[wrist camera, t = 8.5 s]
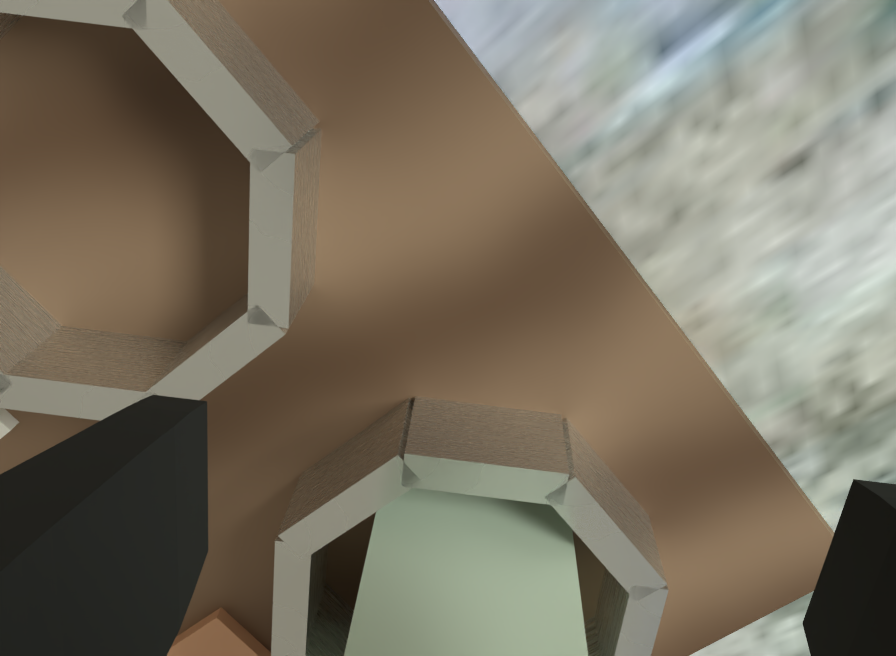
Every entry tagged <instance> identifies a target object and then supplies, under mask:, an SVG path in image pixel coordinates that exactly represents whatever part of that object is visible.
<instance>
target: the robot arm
mask: <svg viewBox="0 0 896 656" xmlns="http://www.w3.org/2000/svg"><path fill="white" fill-rule="evenodd" d="M207 553H208V436H207V401H201V400H193V399H185V398H176V397H168V396H160V395H151V396H149V397H147V398H144V399H142V400H140V401H138V402H136V403H134V404H132V405H130V406H128V407H126V408H124V409H122V410H120V411H118V412H116V413H114V414H112V415H110V416H108V417H107V418H105V419H103V420H101V421H99V422H97V423H95V424H94V425H92V426H90V427H88V428H86V429H84V430H83V431H81V432H79V433H77V434H75V435H73V436H71V437H70V438H68V439H66V440H64V441H62V442H60V443H58V444H56V445H55V446H53V447H51V448H49V449H47V450H45V451H43V452H41V453H40V454H38V455H36V456H34V457H32V458H30V459H28V460H26V461H24V462H23V463H21V464H19V465H17V466H15V467H13V468H11V469H9V470H8V471H6V472H4V473H2V474H0V656H167V654H168V652H169V650H170V648H171V646H172V644H173V642H174V640H175V638H176V636H177V634H178V632H179V630H180V628H181V625H182V622H183V620H184V617H185V614H186V612H187V609H188V606H189V604H190V601H191V598H192V596H193V593H194V590H195V587H196V584H197V582H198V579H199V576H200V573H201V570H202V567H203V564H204V562H205V559H206V556H207ZM803 626H804V630H805V634H806V638H807V642H808V646H809V650H810V654H811V656H896V484H888V483H879V482H871V481H863V480H855V479H853V482H852V485H851V488H850V491H849V494H848V496H847V499H846V502H845V505H844V508H843V511H842V513H841V516H840V519H839V522H838V525H837V527H836V530H835V533H834V536H833V539H832V542H831V544H830V547H829V550H828V553H827V556H826V559H825V561H824V564H823V567H822V570H821V573H820V575H819V578H818V581H817V584H816V587H815V590H814V592H813V595H812V598H811V601H810V604H809V606H808V609H807V612H806V615H805V618H804V621H803Z"/></svg>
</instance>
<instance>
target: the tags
mask: <svg viewBox="0 0 896 656" xmlns="http://www.w3.org/2000/svg"><path fill="white" fill-rule="evenodd" d="M18 423H19V421H18V420H16V419H15V418H14V417H13V416H12V415H11V414H10V413H9V412H8V411H7V410H6V409H3V408H0V439H1V438H2V437H3V436H5V435H6V434H7V433H8V432H10V431H11V430H12V429H13V428H14V427H15V426H16V425H17V424H18ZM167 656H271V652H270V651H269V650H267V649H266V648H265V647H264V646H263V645H262V644H261V643H260V642H259V641H258V640H257V639H255V638H254V637H253V636H252V635H251V634H250V633H249V632H248V631H247V630H246V629H245V628H243V627H242V626H241V625H240V624H239V623H238V622H237V621H236V620H235V619H234V618H233V617H231V616H230V615H229V614H228V613H227V612H226V611H225V610H224V609H223V608H222V607H221V608H219V609H218V610H216V611H215V612H213V613H211V614H210V615H208V616H207V617H205V618H204V619H202V620H201V621H199V622H198V623H196V624H195V625H193V626H192V627H190V628H189V629H187V630H186V631H184V632H183V633H181V634H180V635H178V636H177V637H176V638H175V640H174V642H173V644H172V646H171V648H170V650H169V652H168V654H167Z"/></svg>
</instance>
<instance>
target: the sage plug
mask: <svg viewBox="0 0 896 656" xmlns="http://www.w3.org/2000/svg"><path fill="white" fill-rule="evenodd" d="M344 656H588V650H587V642H586V634H585V626H584V618H583V610H582V603H581V595H580V587H579V579H578V571H577V563H576V555H575V548H574V540H573V532H572V528H571V527H570V526H569V525H568V524H567V523H566V522H565V520H564V519H563V518H562V517H561V516H560V515H559V514H558V512H557V511H556V510H555V509H554V508H553V507H552V506H551V505H547V504H539V503H531V502H523V501H515V500H507V499H499V498H491V497H483V496H475V495H467V494H459V493H451V492H443V491H435V490H427V489H419V488H412V489H410V490H409V491H407V492H406V493H404V494H403V495H401V496H400V497H398V498H396V499H395V500H393V501H392V502H390V503H389V504H387V505H386V506H384V507H383V508H381V509H380V510H378V511H377V512H376V515H375V519H374V524H373V528H372V533H371V537H370V541H369V546H368V550H367V555H366V559H365V564H364V568H363V573H362V577H361V582H360V586H359V591H358V595H357V600H356V604H355V608H354V613H353V617H352V622H351V626H350V631H349V635H348V640H347V644H346V649H345V653H344Z"/></svg>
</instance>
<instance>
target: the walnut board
mask: <svg viewBox="0 0 896 656" xmlns="http://www.w3.org/2000/svg"><path fill="white" fill-rule="evenodd" d="M218 1H219V2H220V3H221V4H222V5H223V7H224V8H225V9H226V10H227V11H228V13H229V14H230V15H231V16H232V17H233V19H234V20H235V21H236V22H237V23H238V25H239V26H240V27H241V28H242V29H243V31H244V32H245V33H246V34H247V35H248V37H249V38H250V39H251V40H252V41H253V42H254V44H255V45H256V46H257V47H258V48H259V50H260V51H261V52H262V53H263V54H264V56H265V57H266V58H267V59H268V60H269V62H270V63H271V64H272V65H273V66H274V68H275V69H276V70H277V71H278V72H279V74H280V75H281V76H282V77H283V78H284V80H285V81H286V82H287V83H288V84H289V86H290V87H291V88H292V89H293V90H294V92H295V93H296V94H297V95H298V96H299V98H300V99H301V100H302V101H303V102H304V104H305V105H306V106H307V107H308V108H309V110H310V111H311V112H312V113H313V114H314V116H315V117H316V118H317V119H318V120H319V122H318V123H317V124H316V125H315V126H314V127H313V128H321V129H322V138H321V158H320V178H319V198H318V218H317V238H316V257H315V277H314V285H313V286H312V288H311V290H310V292H309V294H308V296H307V297H306V299H305V301H304V303H303V304H302V306H301V308H300V310H299V311H298V313H297V315H296V317H295V318H294V320H293V322H292V324H291V325H290V327H289V329H288V331H287V332H286V334H285V335H284V336H283V337H281V338H280V339H279V340H277V341H276V342H275V343H274V344H272V345H271V346H270V347H268V348H267V349H266V350H264V351H263V352H262V353H260V354H259V355H258V356H257V357H255V358H254V359H253V360H251V361H250V362H249V363H247V364H246V365H245V366H244V367H242V368H241V369H240V370H238V371H237V372H236V373H234V374H233V375H232V376H230V377H229V378H228V379H227V380H225V381H224V382H223V383H221V384H220V385H219V386H217V387H216V388H215V389H213V390H212V391H211V392H210V393H208V394H207V395H206V396H204V397H203V398H202V399H200V400H201V401H207V436H208V553H207V556H206V559H205V562H204V564H203V567H202V570H201V573H200V576H199V579H198V582H197V584H196V587H195V590H194V593H193V596H192V598H191V601H190V604H189V606H188V609H187V612H186V614H185V617H184V620H183V622H182V625H181V628H180V630H179V632H178V634H177V636H178V635H180V634H181V633H183V632H184V631H186V630H187V629H189V628H190V627H192V626H193V625H195V624H196V623H198V622H199V621H201V620H202V619H204V618H205V617H207V616H208V615H210V614H211V613H213V612H215V611H216V610H218V609H219V608H221V607H222V608H223V609H224V610H225V611H226V612H227V613H228V614H229V615H230V616H231V617H233V618H234V619H235V620H236V621H237V622H238V623H239V624H240V625H241V626H242V627H243V628H245V629H246V630H247V631H248V632H249V633H250V634H251V635H252V636H253V637H254V638H255V639H257V640H258V641H259V642H260V643H261V644H262V645H263V646H264V647H265V648H266V649H267V650H269V651H270V652H271V642H272V614H273V585H274V557H275V540H276V537H277V534H278V532H279V529H280V527H281V524H282V521H283V519H284V516H285V514H286V511H287V509H288V506H289V503H290V501H291V498H292V496H293V493H294V490H295V488H296V485H297V483H298V480H299V477H301V475H302V472H304V471H305V470H306V469H308V468H309V467H311V466H312V465H314V464H315V463H316V462H318V461H319V460H321V459H322V458H324V457H325V456H327V455H328V454H329V453H331V452H332V451H334V450H335V449H337V448H338V447H339V446H341V445H342V444H344V443H345V442H347V441H348V440H349V439H351V438H352V437H354V436H355V435H357V434H358V433H360V432H361V431H362V430H364V429H365V428H367V427H368V426H370V425H371V424H372V423H374V422H375V421H377V420H378V419H380V418H381V417H383V416H384V415H385V414H387V413H388V412H390V411H391V410H393V409H394V408H395V407H397V406H398V405H400V404H401V403H403V402H404V401H405V400H407V399H408V398H410V399H411V400H412V401H413V403H414V401H415V396H416V397H424V398H432V399H441V400H449V401H457V402H465V403H473V404H481V405H489V406H497V407H505V408H513V409H521V410H529V411H537V412H545V413H553V414H561V417H562V420H563V419H565V418H566V417H567V418H568V420H569V421H570V422H571V423H572V424H573V425H574V427H575V428H576V429H577V430H578V431H579V433H580V434H581V435H582V436H583V437H584V439H585V440H586V441H587V442H588V443H589V445H590V446H591V447H592V448H593V449H594V451H595V452H596V453H597V454H598V455H599V457H600V458H601V459H602V460H603V461H604V463H605V464H606V465H607V466H608V467H609V469H610V470H611V471H612V472H613V473H614V475H615V476H616V477H617V478H618V479H619V481H620V482H621V483H622V484H623V485H624V487H625V488H626V489H627V490H628V491H629V493H630V494H631V495H632V496H633V497H634V499H635V500H636V501H637V502H638V503H639V504H640V506H641V507H642V508H643V509H644V510H645V512H646V513H647V514H648V515H649V518H650V522H651V526H652V530H653V533H654V537H655V541H656V544H657V548H658V552H659V556H660V559H661V563H662V567H663V571H664V574H665V578H666V582H667V586H668V594H667V598H666V601H665V605H664V609H663V613H662V616H661V620H660V624H659V627H658V631H657V635H656V639H655V642H654V646H653V650H652V653H651V656H689V655H691V654H693V653H695V652H696V651H698V650H700V649H702V648H704V647H706V646H708V645H710V644H712V643H714V642H716V641H718V640H720V639H722V638H723V637H725V636H727V635H729V634H731V633H733V632H735V631H737V630H739V629H741V628H743V627H745V626H747V625H748V624H750V623H752V622H754V621H756V620H758V619H760V618H762V617H764V616H766V615H768V614H770V613H772V612H773V611H775V610H777V609H779V608H781V607H783V606H785V605H787V604H789V603H791V602H793V601H795V600H797V599H799V598H800V597H802V596H804V595H806V594H808V593H810V592H812V591H814V590H815V587H816V584H817V581H818V578H819V575H820V573H821V570H822V567H823V564H824V561H825V559H826V556H827V553H828V550H829V547H830V544H831V542H832V539H833V536H834V532H833V531H832V529H831V528H830V527H829V525H828V524H827V523H826V521H825V520H824V519H823V517H822V516H821V515H820V513H819V512H818V511H817V509H816V508H815V507H814V505H813V504H812V503H811V501H810V500H809V499H808V497H807V496H806V495H805V493H804V492H803V491H802V489H801V488H800V487H799V485H798V484H797V483H796V481H795V480H794V479H793V477H792V476H791V475H790V473H789V472H788V471H787V469H786V468H785V467H784V465H783V464H782V463H781V461H780V460H779V459H778V457H777V456H776V455H775V453H774V452H773V451H772V449H771V448H770V447H769V445H768V444H767V443H766V441H765V440H764V439H763V437H762V436H761V435H760V433H759V432H758V431H757V430H756V428H755V427H754V426H753V424H752V423H751V422H750V420H749V419H748V418H747V416H746V415H745V414H744V412H743V411H742V410H741V408H740V407H739V406H738V404H737V403H736V402H735V400H734V399H733V398H732V396H731V395H730V394H729V392H728V391H727V390H726V388H725V387H724V386H723V384H722V383H721V382H720V380H719V379H718V378H717V376H716V375H715V374H714V372H713V371H712V370H711V368H710V367H709V366H708V364H707V363H706V362H705V360H704V359H703V358H702V356H701V355H700V354H699V352H698V351H697V350H696V348H695V347H694V346H693V344H692V343H691V342H690V340H689V339H688V338H687V336H686V335H685V334H684V332H683V331H682V330H681V328H680V327H679V326H678V324H677V323H676V322H675V320H674V319H673V318H672V316H671V315H670V314H669V312H668V311H667V310H666V308H665V307H664V306H663V304H662V303H661V302H660V300H659V299H658V298H657V297H656V295H655V294H654V293H653V291H652V290H651V289H650V287H649V286H648V285H647V283H646V282H645V281H644V279H643V278H642V277H641V275H640V274H639V273H638V271H637V270H636V269H635V267H634V266H633V265H632V263H631V262H630V261H629V259H628V258H627V257H626V255H625V254H624V253H623V251H622V250H621V249H620V247H619V246H618V245H617V243H616V242H615V241H614V239H613V238H612V237H611V235H610V234H609V233H608V231H607V230H606V229H605V227H604V226H603V225H602V223H601V222H600V221H599V219H598V218H597V217H596V215H595V214H594V213H593V211H592V210H591V209H590V207H589V206H588V205H587V203H586V202H585V201H584V199H583V198H582V197H581V195H580V194H579V193H578V191H577V190H576V189H575V187H574V186H573V185H572V183H571V182H570V181H569V179H568V178H567V177H566V175H565V174H564V173H563V171H562V170H561V169H560V167H559V166H558V165H557V163H556V162H555V161H554V160H553V158H552V157H551V156H550V154H549V153H548V152H547V150H546V149H545V148H544V146H543V145H542V144H541V142H540V141H539V140H538V138H537V137H536V136H535V134H534V133H533V132H532V130H531V129H530V128H529V126H528V125H527V124H526V122H525V121H524V120H523V118H522V117H521V116H520V114H519V113H518V112H517V110H516V109H515V108H514V106H513V105H512V104H511V102H510V101H509V100H508V98H507V97H506V96H505V94H504V93H503V92H502V90H501V89H500V88H499V86H498V85H497V84H496V82H495V81H494V80H493V78H492V77H491V76H490V74H489V73H488V72H487V70H486V69H485V68H484V66H483V65H482V64H481V62H480V61H479V60H478V58H477V57H476V56H475V54H474V53H473V52H472V50H471V49H470V48H469V46H468V45H467V44H466V42H465V41H464V40H463V38H462V37H461V36H460V34H459V33H458V32H457V30H456V29H455V28H454V26H453V25H452V24H451V23H450V21H449V20H448V19H447V17H446V16H445V15H444V13H443V12H442V11H441V9H440V8H439V7H438V5H437V4H436V3H435V1H434V0H218ZM249 206H250V162H249V161H248V160H247V158H246V157H245V156H244V155H243V154H242V153H241V152H240V150H239V149H238V148H237V147H236V146H235V145H234V144H233V142H232V141H231V140H230V139H229V138H228V137H227V136H226V134H225V133H224V132H223V131H222V130H221V129H220V128H219V127H218V125H217V124H216V123H215V122H214V121H213V120H212V119H211V117H210V116H209V115H208V114H207V113H206V112H205V111H204V109H203V108H202V107H201V106H200V105H199V104H198V103H197V101H196V100H195V99H194V98H193V97H192V96H191V95H190V94H189V92H188V91H187V90H186V89H185V88H184V87H183V86H182V84H181V83H180V82H179V81H178V80H177V79H176V78H175V76H174V75H173V74H172V73H171V72H170V71H169V70H168V68H167V67H166V66H165V65H164V64H163V63H162V62H161V60H160V59H159V58H158V57H157V56H156V55H155V54H154V53H153V51H152V50H151V49H150V48H149V47H148V46H147V45H146V43H145V42H144V41H143V40H142V39H141V38H140V37H139V35H138V34H137V33H136V32H135V31H134V30H133V29H132V28H124V27H116V26H108V25H100V24H91V23H83V22H75V21H67V20H58V19H50V18H42V17H34V16H25V15H23V16H22V17H21V18H20V19H19V20H18V21H17V22H16V23H15V24H14V25H13V26H12V28H11V29H10V30H9V31H8V32H7V33H6V34H5V35H4V36H3V37H2V38H1V39H0V266H1V267H2V268H3V269H4V270H5V271H6V272H7V273H8V274H9V275H10V276H11V277H12V278H13V279H14V280H15V281H16V282H17V283H18V284H19V285H20V286H21V287H22V288H23V289H24V290H26V291H27V292H28V293H29V294H30V295H31V296H32V297H33V298H34V299H35V300H36V301H37V302H38V303H39V304H40V305H41V306H42V307H43V308H44V309H45V310H46V311H47V312H48V313H49V314H50V315H51V316H52V317H53V318H54V319H55V320H56V321H57V322H58V323H59V324H60V325H61V326H66V327H74V328H82V329H90V330H98V331H106V332H115V333H123V334H131V335H139V336H147V337H155V338H163V339H171V340H179V341H188V340H190V339H191V338H192V337H193V336H195V335H196V334H197V333H198V332H200V331H201V330H202V329H203V328H205V327H206V326H207V325H208V324H210V323H211V322H212V321H213V320H215V319H216V318H217V317H218V316H220V315H221V314H222V313H223V312H225V311H226V310H227V309H228V308H230V307H231V306H232V305H233V304H235V303H236V302H237V301H238V300H240V299H241V298H242V297H243V296H245V295H246V294H247V293H248V265H249ZM6 410H7V411H8V412H9V413H10V414H11V415H12V416H13V417H14V418H15V419H16V420H18V421H19V423H18V424H17V425H16V426H15V427H14V428H13V429H12V430H11V431H10V432H8V433H7V434H6V435H5V436H3V437H2V438H1V439H0V474H2V473H4V472H6V471H8V470H9V469H11V468H13V467H15V466H17V465H19V464H21V463H23V462H24V461H26V460H28V459H30V458H32V457H34V456H36V455H38V454H40V453H41V452H43V451H45V450H47V449H49V448H51V447H53V446H55V445H56V444H58V443H60V442H62V441H64V440H66V439H68V438H70V437H71V436H73V435H75V434H77V433H79V432H81V431H83V430H84V429H86V428H88V427H90V426H92V425H94V424H95V423H97V422H99V421H100V420H92V419H84V418H76V417H68V416H60V415H52V414H44V413H36V412H27V411H19V410H11V409H6ZM375 515H376V512H375V513H374V514H372V515H371V516H369V517H368V518H366V519H364V520H363V521H361V522H360V523H358V524H357V525H355V526H354V527H352V528H351V529H349V530H348V531H346V532H345V533H343V534H342V535H340V536H339V537H337V538H336V539H334V540H332V541H331V542H329V543H328V553H327V568H326V584H327V585H328V586H329V587H330V588H331V589H332V590H333V591H334V592H335V593H336V594H337V595H338V596H339V597H340V598H341V599H343V600H344V601H345V602H346V603H347V604H348V605H349V606H350V607H351V608H352V609H353V610H354V608H355V604H356V600H357V595H358V591H359V586H360V582H361V577H362V573H363V568H364V564H365V559H366V555H367V550H368V546H369V541H370V537H371V533H372V528H373V524H374V519H375ZM572 532H573V540H574V548H575V555H576V563H577V571H578V579H579V587H580V595H581V603H582V610H583V618H584V622H586V621H587V620H589V619H591V618H593V617H594V616H595V611H596V607H597V603H598V598H599V594H600V590H601V585H602V581H603V577H604V572H605V568H606V567H605V566H604V565H603V564H602V563H601V561H600V560H599V559H598V558H597V557H596V556H595V555H594V553H593V552H592V551H591V550H590V549H589V548H588V547H587V545H586V544H585V543H584V542H583V541H582V540H581V539H580V537H579V536H578V535H577V534H576V533H575V532H574V531H573V530H572ZM177 636H176V637H177Z"/></svg>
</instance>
